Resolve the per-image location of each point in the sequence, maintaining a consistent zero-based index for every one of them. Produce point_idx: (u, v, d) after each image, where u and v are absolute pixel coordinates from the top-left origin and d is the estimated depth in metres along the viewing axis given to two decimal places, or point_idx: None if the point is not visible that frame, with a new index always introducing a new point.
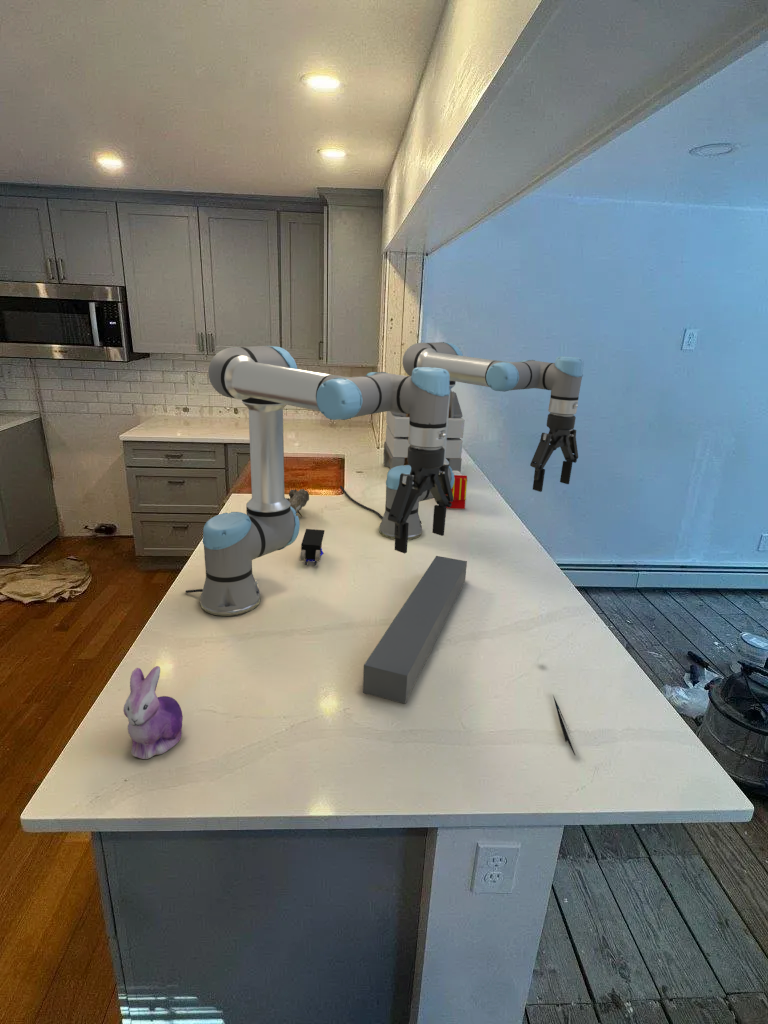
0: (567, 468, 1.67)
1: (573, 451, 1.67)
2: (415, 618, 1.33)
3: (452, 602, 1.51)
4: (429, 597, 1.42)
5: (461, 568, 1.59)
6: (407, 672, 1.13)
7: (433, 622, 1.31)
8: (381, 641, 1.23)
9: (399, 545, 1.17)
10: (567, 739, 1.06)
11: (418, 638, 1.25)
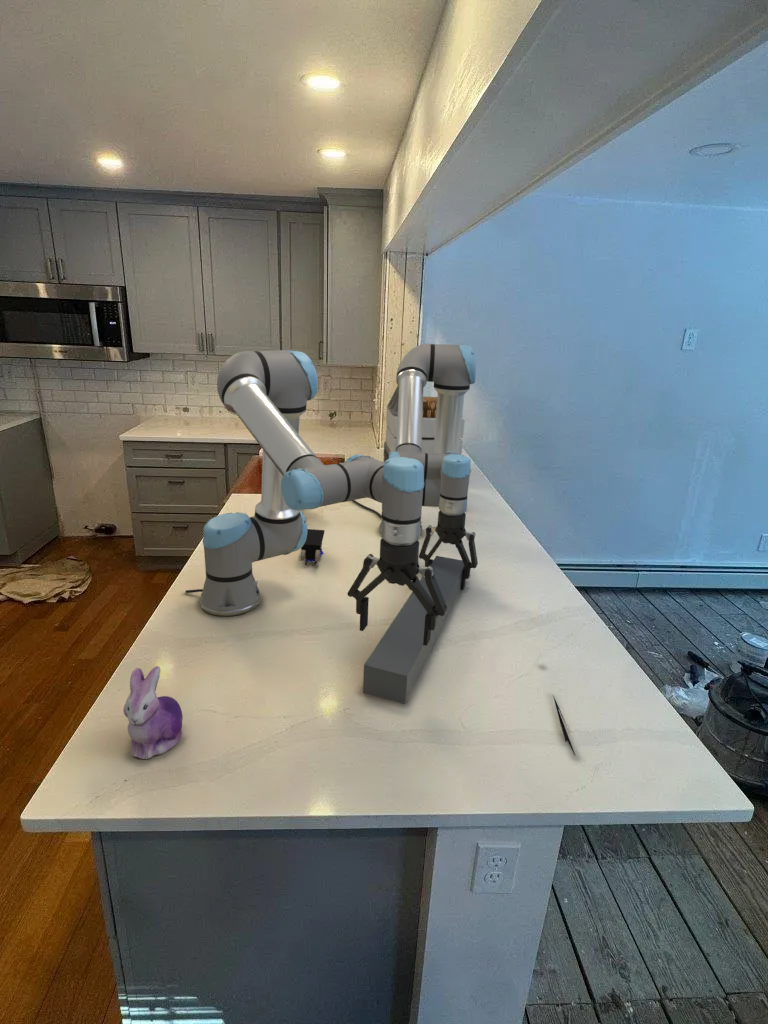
0: None
1: None
2: (415, 618, 1.33)
3: (452, 602, 1.51)
4: None
5: (461, 568, 1.59)
6: (407, 672, 1.13)
7: None
8: (381, 641, 1.23)
9: None
10: (567, 739, 1.06)
11: (418, 638, 1.25)
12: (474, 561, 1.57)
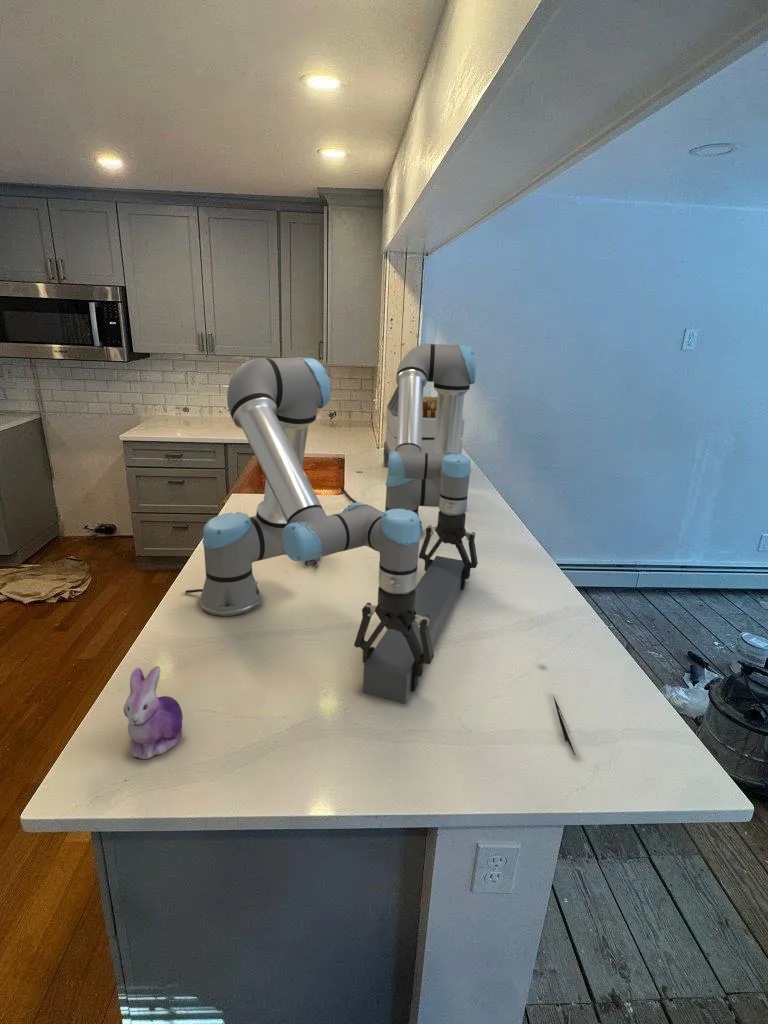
0: None
1: None
2: None
3: (452, 602, 1.51)
4: (429, 597, 1.42)
5: (461, 568, 1.59)
6: (407, 672, 1.13)
7: (433, 622, 1.31)
8: (381, 641, 1.23)
9: None
10: (567, 739, 1.06)
11: (418, 638, 1.25)
12: (474, 561, 1.57)
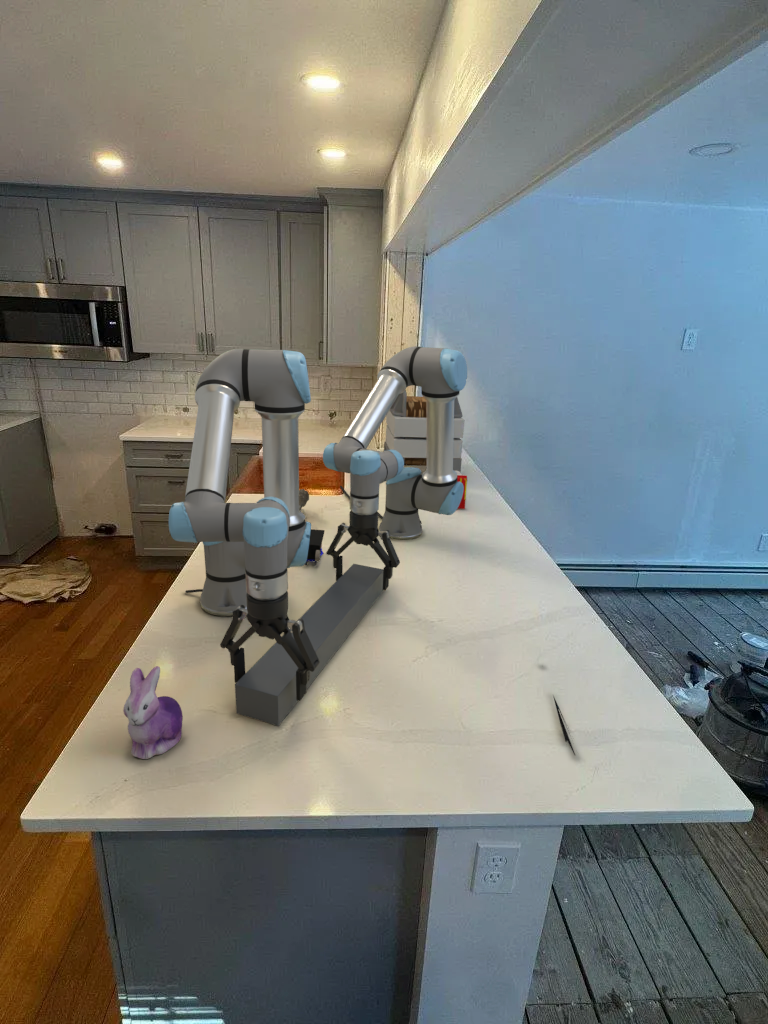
0: None
1: None
2: (308, 632, 1.25)
3: (360, 613, 1.43)
4: (330, 609, 1.35)
5: (375, 577, 1.52)
6: (279, 692, 1.05)
7: (326, 636, 1.24)
8: (262, 657, 1.15)
9: None
10: (567, 739, 1.06)
11: None
12: (394, 560, 1.48)
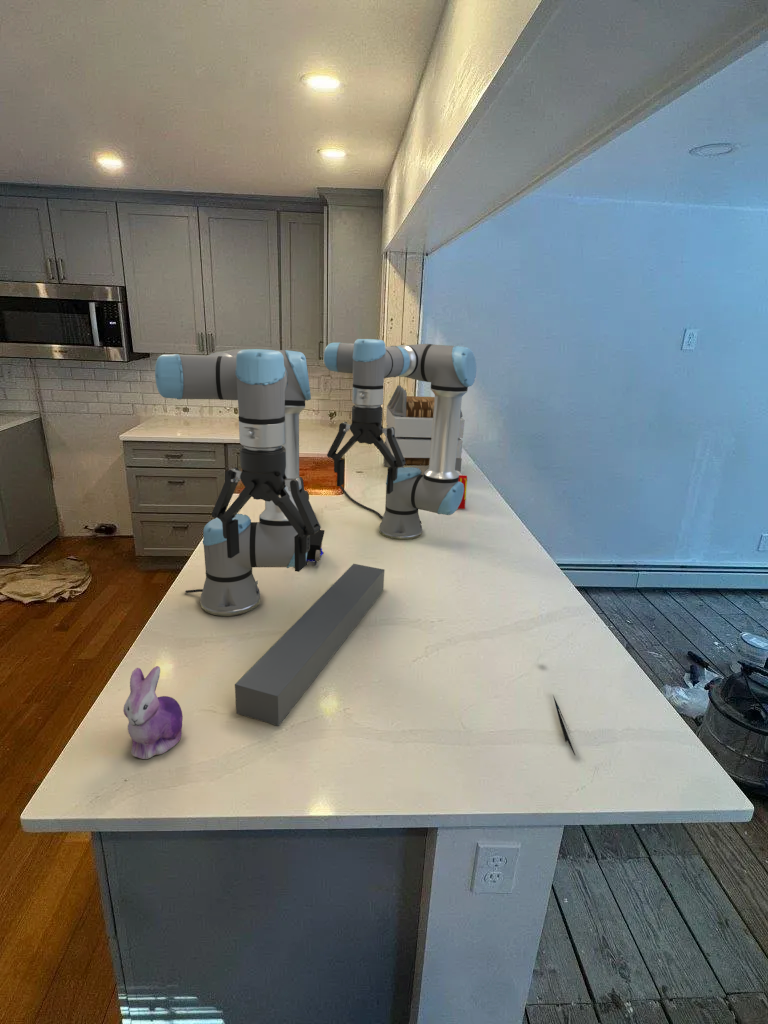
0: None
1: None
2: (308, 632, 1.25)
3: (360, 613, 1.43)
4: (330, 609, 1.35)
5: (375, 577, 1.52)
6: (279, 692, 1.05)
7: (326, 636, 1.24)
8: (262, 657, 1.15)
9: None
10: (567, 739, 1.06)
11: (304, 654, 1.17)
12: (399, 458, 1.38)
